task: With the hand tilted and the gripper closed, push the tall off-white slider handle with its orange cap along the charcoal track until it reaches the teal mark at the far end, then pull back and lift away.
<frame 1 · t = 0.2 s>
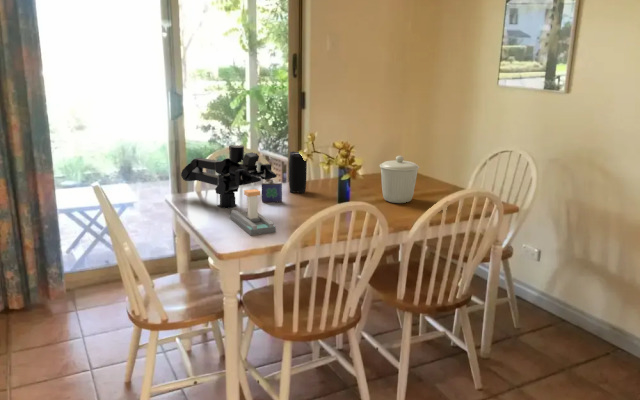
hand: (268, 177, 219), 17 cm above the table, tool horizontal, fingers open, 9 cm apart
canister: (397, 201, 251), on the table
portable speaker: (297, 192, 265), on the table
fader track: (251, 224, 212), on the table
slider handle: (252, 205, 209), point 8 cm above the table, slide at 1.0 cm
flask: (271, 202, 246), on the table
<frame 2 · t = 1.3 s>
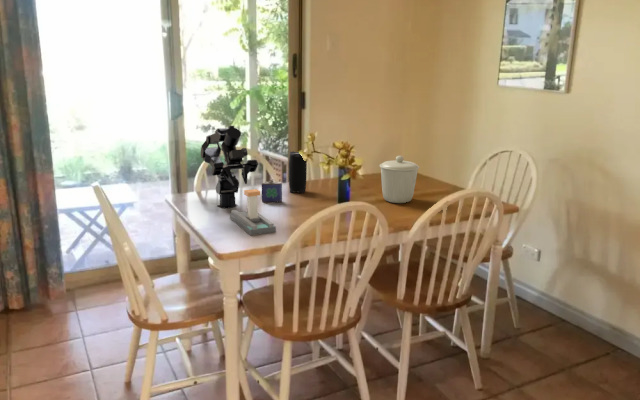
hand: (240, 184, 220), 14 cm above the table, tool tilted 45°, fingers open, 5 cm apart
nothing on the table moved.
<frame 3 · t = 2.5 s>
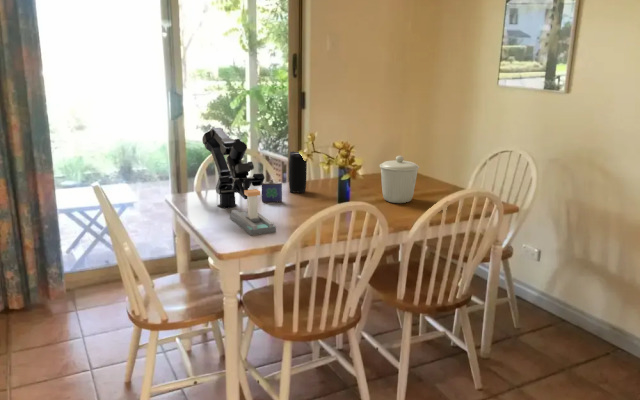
hand: (246, 198, 215), 9 cm above the table, tool tilted 45°, fingers closed
nothing on the table moved.
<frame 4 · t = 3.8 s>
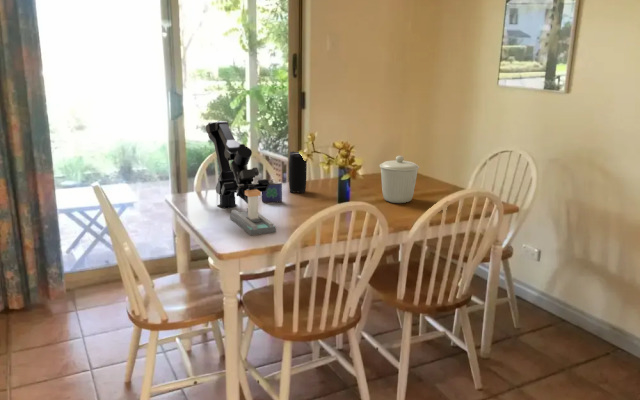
hand: (251, 205, 211), 8 cm above the table, tool tilted 45°, fingers closed, pressing on slider handle
slider handle: (252, 205, 209), point 8 cm above the table, slide at 1.5 cm, touching gripper
everything else where it was.
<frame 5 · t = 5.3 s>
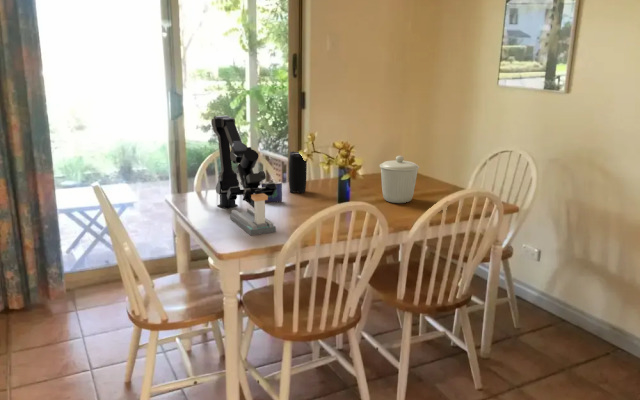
hand: (257, 210, 204), 8 cm above the table, tool tilted 45°, fingers closed
slider handle: (259, 210, 203), point 8 cm above the table, slide at 8.6 cm
everything else where it was.
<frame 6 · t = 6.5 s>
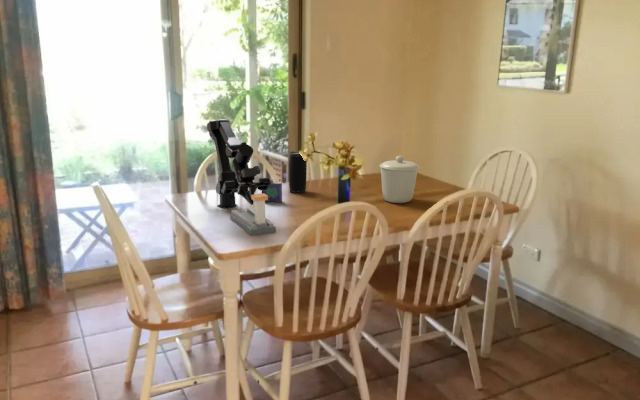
hand: (252, 204, 209), 9 cm above the table, tool tilted 45°, fingers closed
nothing on the table moved.
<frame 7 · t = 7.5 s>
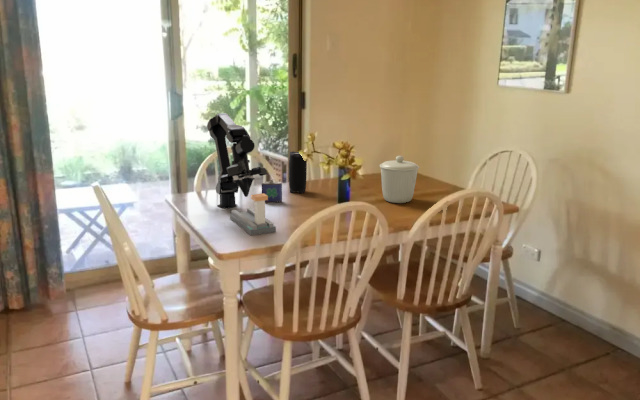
hand: (246, 196, 214), 10 cm above the table, tool tilted 20°, fingers closed
nothing on the table moved.
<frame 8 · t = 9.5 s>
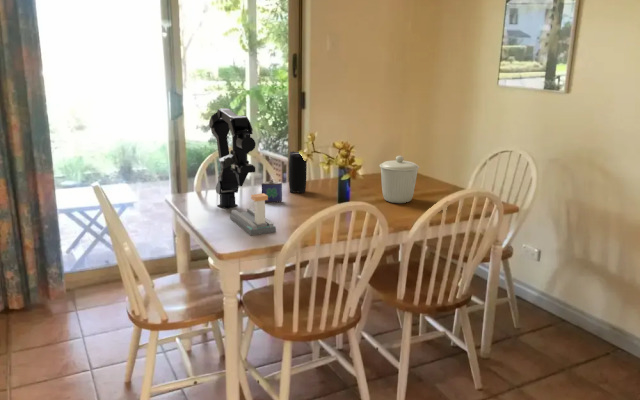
hand: (240, 186, 219), 13 cm above the table, tool pointing down, fingers closed
nothing on the table moved.
at the end: slider handle slide at 8.7 cm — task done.
